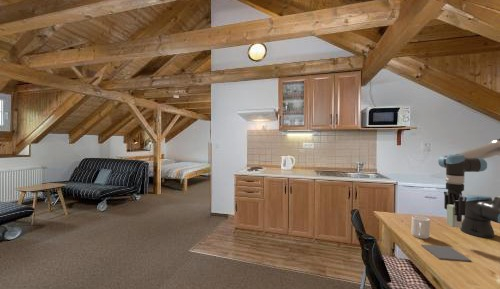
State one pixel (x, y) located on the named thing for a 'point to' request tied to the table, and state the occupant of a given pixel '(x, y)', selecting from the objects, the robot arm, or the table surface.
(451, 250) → the mat
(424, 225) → the mug
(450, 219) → the block
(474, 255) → the table surface
